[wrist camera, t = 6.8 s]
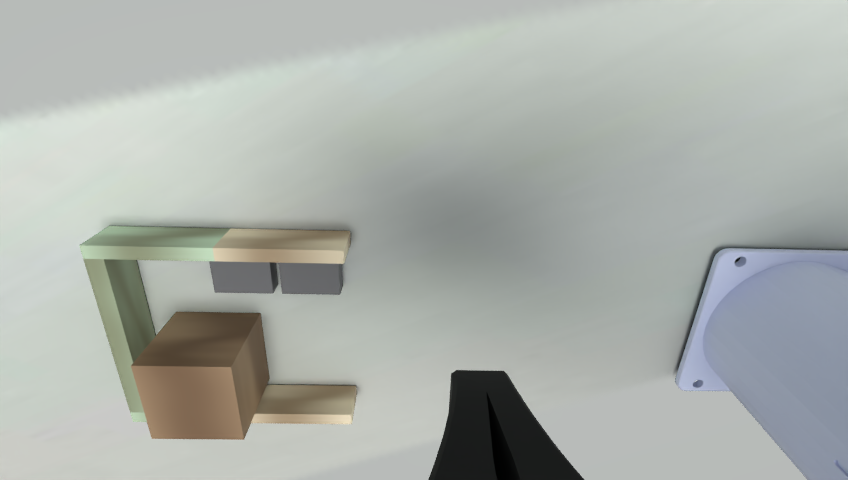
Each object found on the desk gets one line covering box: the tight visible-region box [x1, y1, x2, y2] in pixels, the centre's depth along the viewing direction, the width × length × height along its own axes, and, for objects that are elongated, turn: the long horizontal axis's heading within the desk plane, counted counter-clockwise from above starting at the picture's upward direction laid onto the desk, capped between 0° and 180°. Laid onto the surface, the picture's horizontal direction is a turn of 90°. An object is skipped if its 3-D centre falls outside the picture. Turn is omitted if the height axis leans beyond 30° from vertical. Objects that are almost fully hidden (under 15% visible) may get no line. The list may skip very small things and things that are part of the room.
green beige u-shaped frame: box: [79, 226, 357, 424], centre depth 22 cm, size 10×9×2 cm
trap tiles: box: [209, 261, 343, 295], centre depth 21 cm, size 6×2×1 cm, turn 88°
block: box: [131, 312, 269, 439], centre depth 22 cm, size 4×4×4 cm
